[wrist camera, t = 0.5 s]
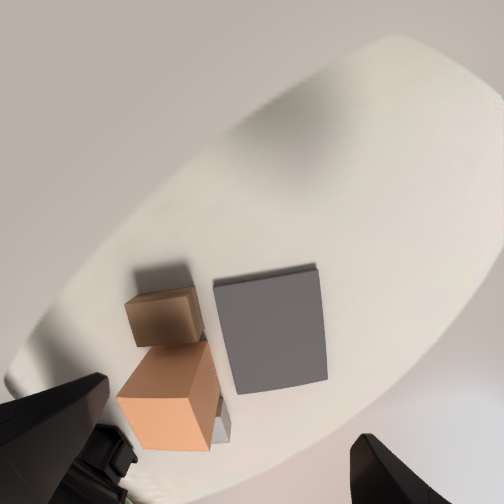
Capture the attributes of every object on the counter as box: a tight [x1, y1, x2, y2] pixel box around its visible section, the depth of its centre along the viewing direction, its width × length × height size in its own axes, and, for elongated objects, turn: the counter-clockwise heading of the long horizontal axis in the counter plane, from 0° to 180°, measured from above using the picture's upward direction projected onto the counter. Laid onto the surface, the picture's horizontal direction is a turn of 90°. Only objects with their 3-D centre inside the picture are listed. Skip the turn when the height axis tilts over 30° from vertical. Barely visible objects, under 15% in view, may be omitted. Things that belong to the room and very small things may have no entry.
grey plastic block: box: [211, 398, 231, 444], centre depth 21 cm, size 5×4×3 cm
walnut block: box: [124, 286, 204, 347], centre depth 20 cm, size 5×4×3 cm
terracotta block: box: [116, 340, 220, 451], centre depth 18 cm, size 5×5×8 cm
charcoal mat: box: [213, 269, 328, 395], centre depth 21 cm, size 8×10×1 cm
